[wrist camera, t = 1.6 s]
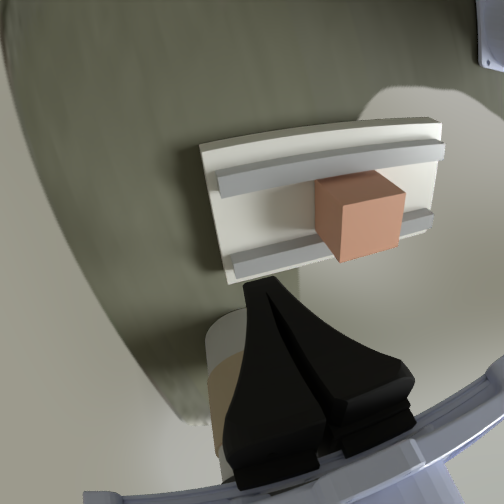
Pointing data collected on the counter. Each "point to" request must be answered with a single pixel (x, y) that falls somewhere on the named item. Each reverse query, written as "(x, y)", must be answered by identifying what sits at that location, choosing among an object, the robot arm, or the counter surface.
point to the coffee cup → (226, 378)
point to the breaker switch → (358, 214)
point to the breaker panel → (309, 186)
